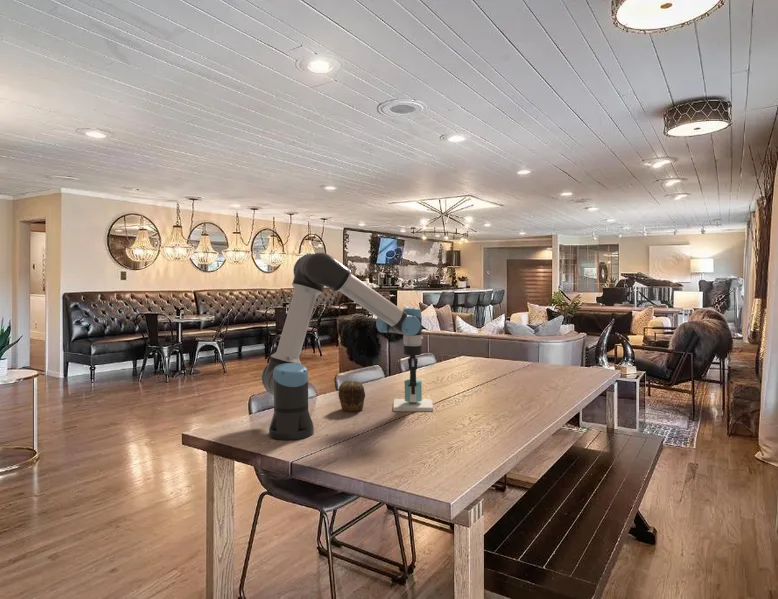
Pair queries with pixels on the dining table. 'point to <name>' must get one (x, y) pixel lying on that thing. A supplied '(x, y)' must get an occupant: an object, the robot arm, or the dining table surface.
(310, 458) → the dining table surface
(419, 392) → the teal cylinder
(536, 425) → the dining table surface
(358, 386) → the brown domed block
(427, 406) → the post board
